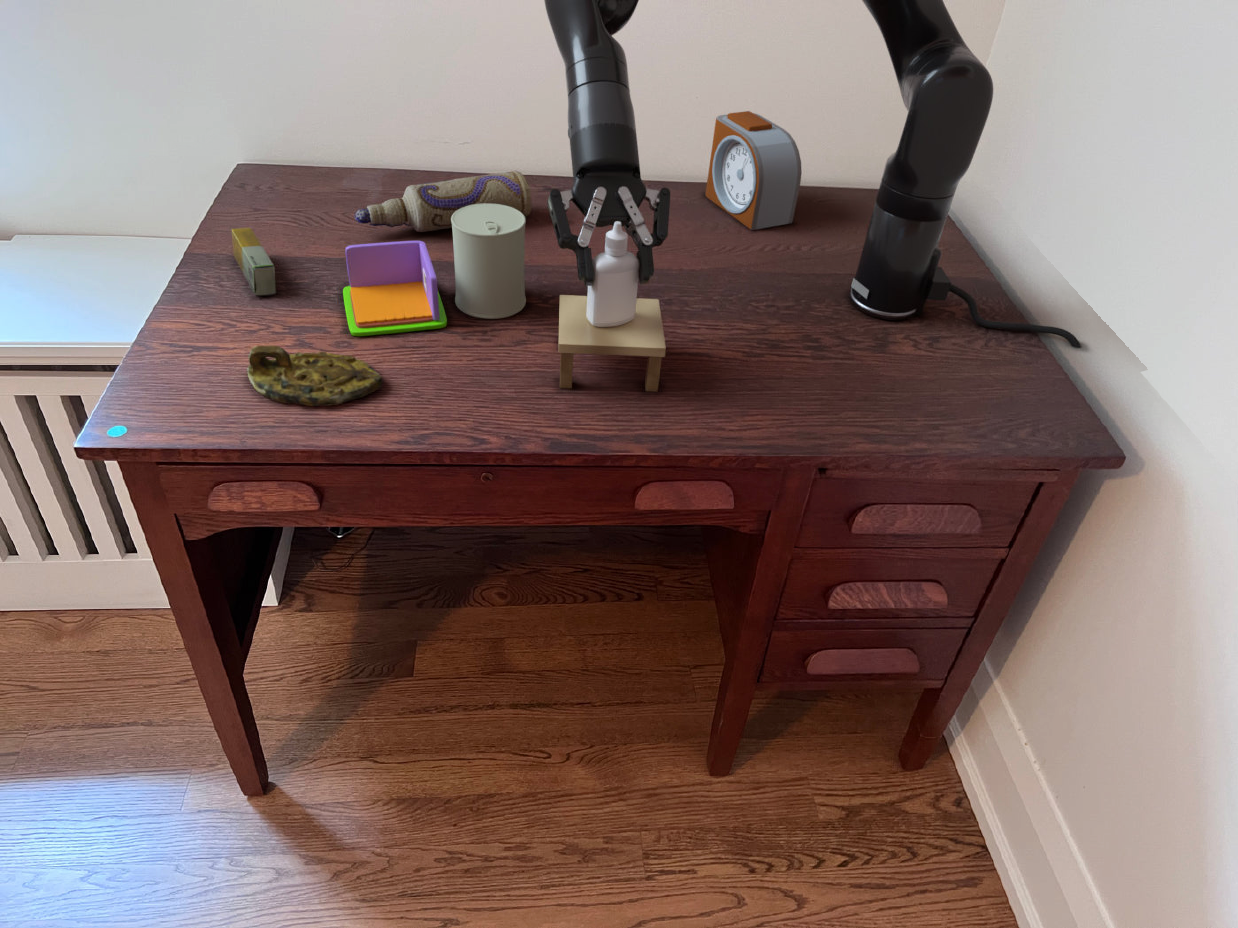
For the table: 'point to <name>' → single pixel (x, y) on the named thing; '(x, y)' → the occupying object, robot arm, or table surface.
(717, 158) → the alarm clock
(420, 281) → the dollhouse room
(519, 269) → the can
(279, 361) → the seal
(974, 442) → the table surface
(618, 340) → the stand
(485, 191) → the decorative bottle
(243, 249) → the medication box
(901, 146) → the robot arm
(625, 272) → the eye dropper bottle
